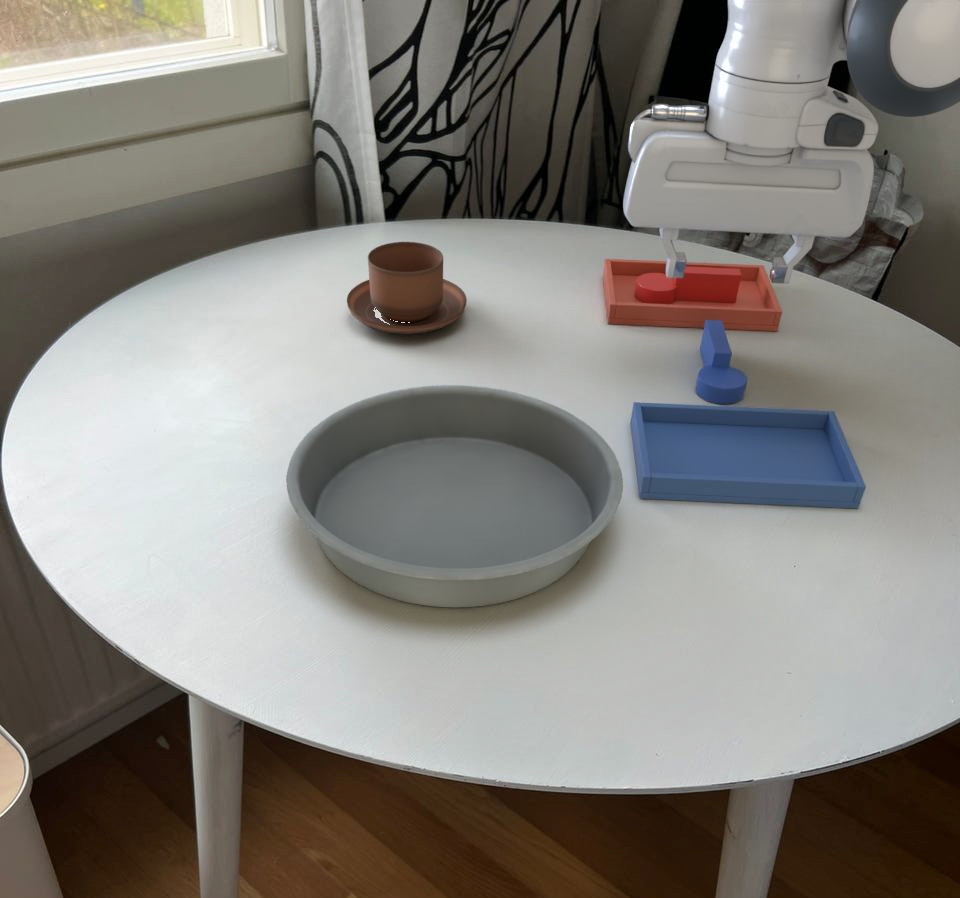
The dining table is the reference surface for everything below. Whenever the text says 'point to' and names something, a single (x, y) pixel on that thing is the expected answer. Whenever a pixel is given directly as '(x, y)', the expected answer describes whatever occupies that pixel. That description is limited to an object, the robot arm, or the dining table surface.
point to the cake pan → (454, 493)
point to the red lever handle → (690, 286)
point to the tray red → (748, 313)
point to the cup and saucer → (406, 290)
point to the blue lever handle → (718, 368)
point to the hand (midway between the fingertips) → (726, 278)
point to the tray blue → (743, 456)
